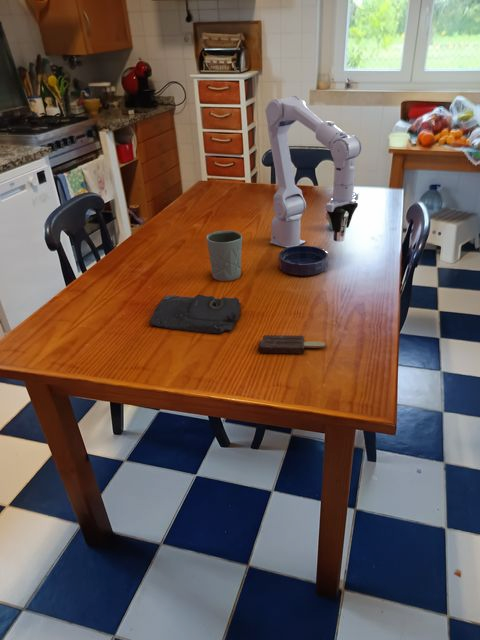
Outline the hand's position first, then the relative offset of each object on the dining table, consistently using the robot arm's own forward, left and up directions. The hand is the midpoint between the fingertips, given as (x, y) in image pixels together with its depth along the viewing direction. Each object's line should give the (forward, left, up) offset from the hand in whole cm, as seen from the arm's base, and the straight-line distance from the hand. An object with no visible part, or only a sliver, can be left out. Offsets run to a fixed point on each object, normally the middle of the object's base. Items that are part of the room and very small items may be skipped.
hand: (340, 229), depth 145 cm
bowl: (-6, -10, -10) cm, 16 cm away
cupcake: (-16, +25, -10) cm, 32 cm away
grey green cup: (-21, -28, -10) cm, 37 cm away
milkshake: (0, 0, -4) cm, 4 cm away
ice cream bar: (+18, -48, -10) cm, 52 cm away
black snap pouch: (-10, -51, -10) cm, 53 cm away
